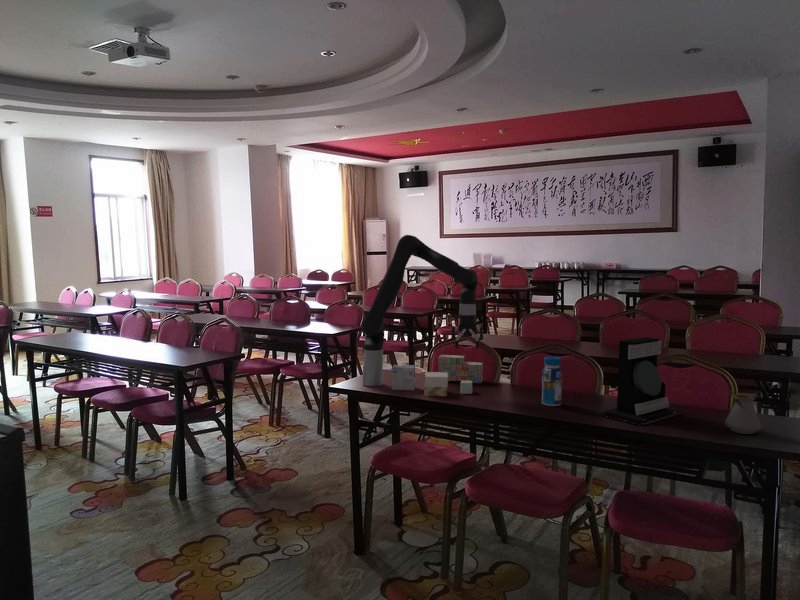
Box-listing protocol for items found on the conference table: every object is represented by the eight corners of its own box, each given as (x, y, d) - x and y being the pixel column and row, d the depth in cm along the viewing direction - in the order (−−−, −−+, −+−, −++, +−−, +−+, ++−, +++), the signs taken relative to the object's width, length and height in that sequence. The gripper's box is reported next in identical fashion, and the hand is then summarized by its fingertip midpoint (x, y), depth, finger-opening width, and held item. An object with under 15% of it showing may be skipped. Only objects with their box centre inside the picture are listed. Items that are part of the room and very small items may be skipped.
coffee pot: (728, 425, 226) (730, 385, 225) (763, 431, 218) (766, 390, 217) (714, 438, 210) (716, 396, 208) (752, 445, 202) (754, 401, 201)
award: (641, 427, 223) (644, 347, 220) (598, 415, 238) (600, 340, 236) (685, 414, 241) (688, 340, 238) (642, 404, 256) (645, 334, 253)
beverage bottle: (538, 401, 259) (539, 355, 257) (557, 401, 260) (559, 355, 258) (544, 406, 251) (545, 359, 249) (564, 406, 251) (565, 359, 250)
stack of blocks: (482, 381, 299) (483, 356, 298) (480, 383, 293) (481, 358, 292) (440, 378, 305) (441, 354, 304) (437, 380, 299) (438, 356, 298)
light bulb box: (415, 387, 284) (415, 364, 283) (414, 390, 278) (414, 367, 277) (393, 386, 286) (393, 364, 285) (391, 390, 279) (391, 367, 278)
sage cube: (461, 393, 273) (461, 382, 272) (460, 391, 278) (460, 380, 277) (472, 393, 272) (472, 383, 272) (471, 391, 277) (471, 380, 277)
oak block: (424, 396, 268) (424, 386, 268) (424, 391, 278) (424, 381, 278) (446, 397, 268) (447, 387, 267) (446, 391, 278) (446, 382, 277)
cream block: (425, 386, 268) (425, 376, 267) (425, 381, 278) (425, 372, 277) (447, 387, 267) (447, 377, 267) (447, 382, 277) (447, 372, 277)
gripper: (451, 314, 269) (451, 350, 270) (484, 314, 268) (483, 350, 269) (451, 312, 276) (451, 347, 277) (482, 312, 275) (482, 347, 277)
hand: (466, 349), depth 273 cm, fingers open, 8 cm apart
